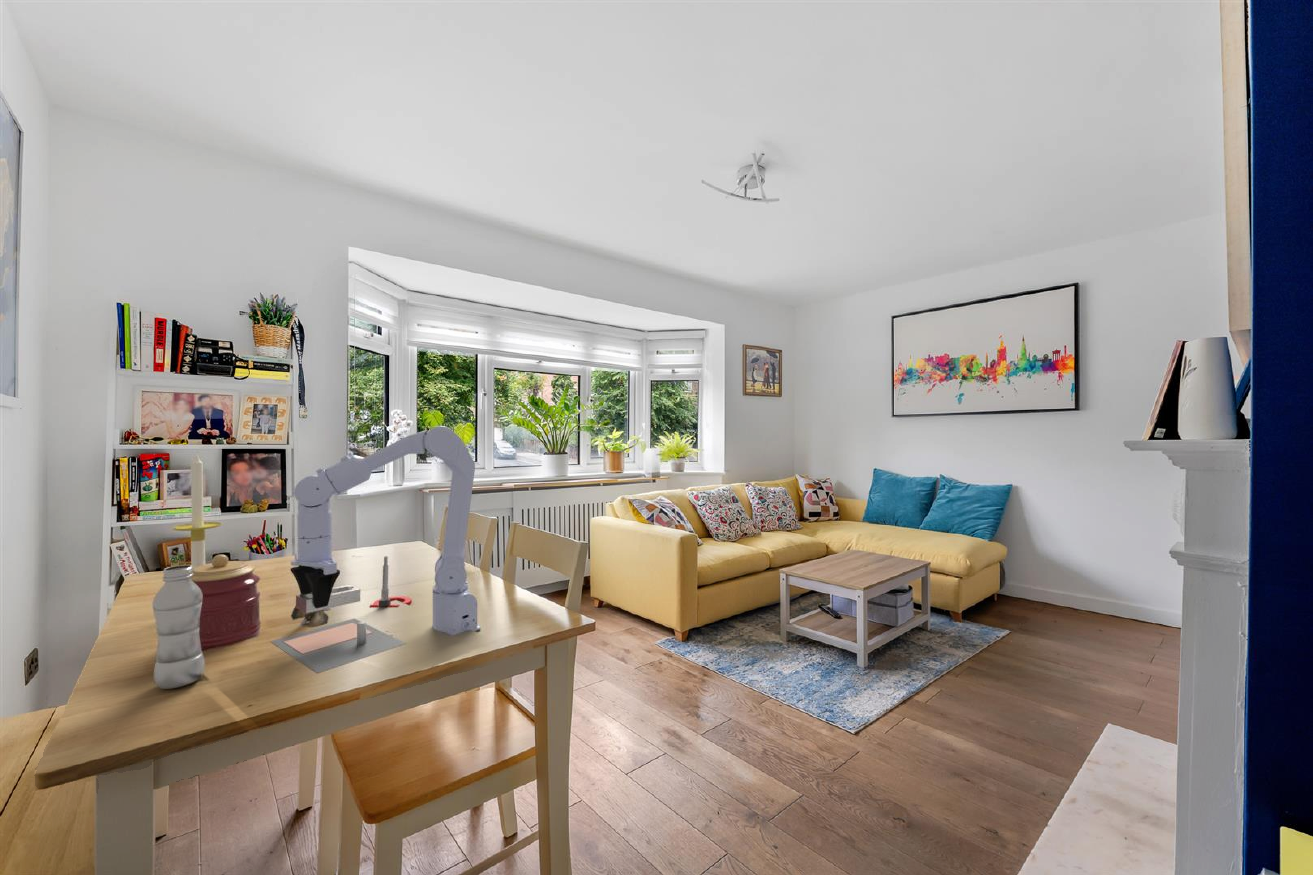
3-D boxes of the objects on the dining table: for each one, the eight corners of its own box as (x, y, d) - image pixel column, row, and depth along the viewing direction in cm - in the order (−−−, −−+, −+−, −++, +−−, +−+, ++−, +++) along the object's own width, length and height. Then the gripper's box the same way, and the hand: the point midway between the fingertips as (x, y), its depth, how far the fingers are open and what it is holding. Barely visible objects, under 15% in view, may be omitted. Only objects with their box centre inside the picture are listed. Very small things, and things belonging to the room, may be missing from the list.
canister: (272, 636, 112) (272, 552, 111) (195, 660, 101) (193, 566, 100) (243, 624, 118) (242, 544, 118) (167, 645, 107) (166, 557, 107)
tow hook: (383, 600, 136) (364, 611, 127) (384, 549, 136) (366, 556, 127) (417, 601, 136) (400, 612, 127) (418, 549, 137) (402, 557, 127)
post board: (406, 648, 107) (406, 623, 107) (317, 678, 94) (317, 650, 94) (354, 622, 120) (354, 600, 120) (270, 646, 107) (269, 621, 107)
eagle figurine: (285, 619, 119) (280, 625, 111) (306, 588, 121) (303, 592, 114) (319, 633, 121) (317, 640, 114) (339, 603, 124) (338, 608, 116)
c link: (360, 601, 112) (360, 589, 112) (306, 613, 103) (306, 600, 103) (349, 596, 114) (349, 584, 114) (295, 607, 106) (296, 595, 106)
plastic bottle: (215, 675, 95) (213, 562, 94) (182, 694, 88) (180, 573, 88) (177, 675, 95) (175, 562, 94) (142, 694, 88) (140, 573, 87)
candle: (159, 616, 122) (156, 452, 121) (208, 602, 132) (206, 450, 131) (188, 622, 119) (186, 453, 118) (236, 607, 129) (234, 451, 128)
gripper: (277, 534, 108) (278, 601, 108) (307, 544, 99) (308, 617, 99) (316, 528, 113) (316, 592, 114) (347, 538, 105) (348, 607, 105)
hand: (315, 603), depth 107 cm, fingers closed on c link, 5 cm apart
